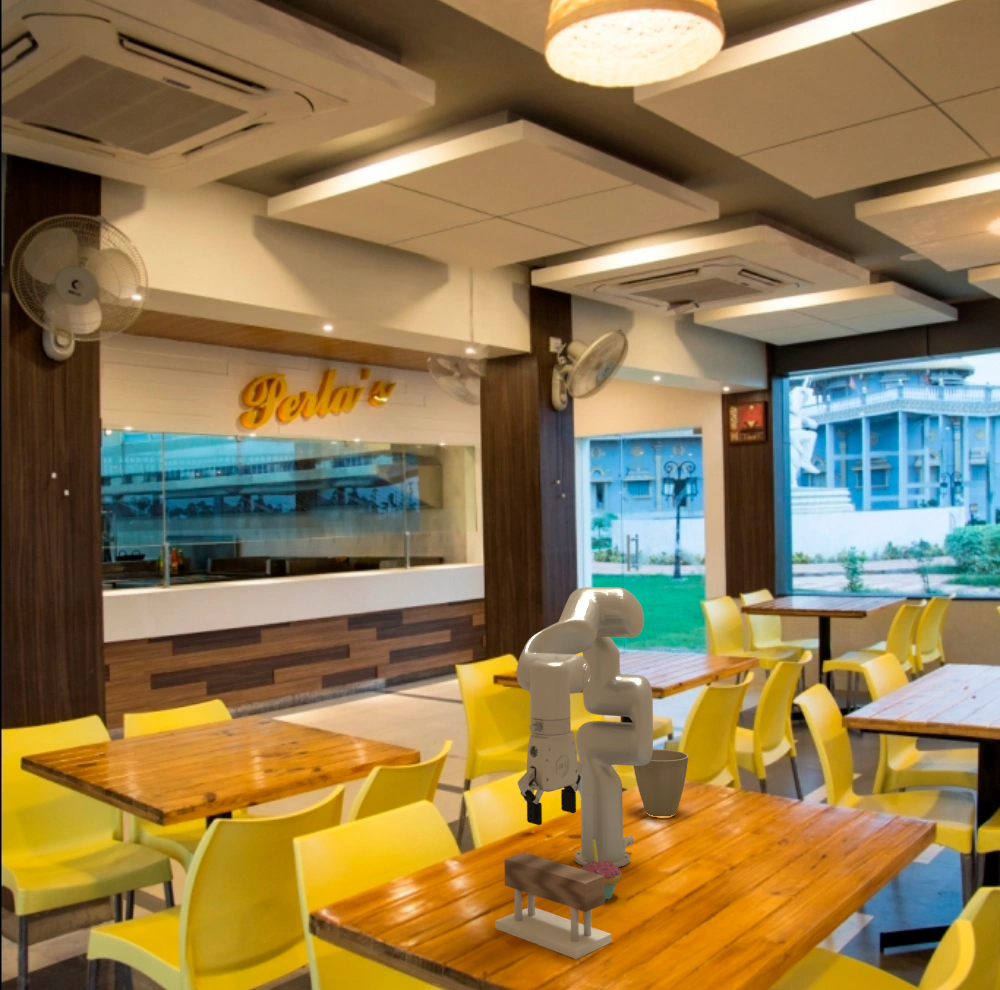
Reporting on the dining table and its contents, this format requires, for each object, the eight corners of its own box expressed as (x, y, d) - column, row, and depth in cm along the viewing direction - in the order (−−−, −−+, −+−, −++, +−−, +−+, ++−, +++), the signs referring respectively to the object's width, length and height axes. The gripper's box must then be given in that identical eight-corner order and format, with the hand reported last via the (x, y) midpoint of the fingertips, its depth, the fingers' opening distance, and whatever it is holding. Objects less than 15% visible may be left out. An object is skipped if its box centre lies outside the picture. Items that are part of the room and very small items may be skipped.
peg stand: (495, 928, 189) (495, 888, 190) (531, 913, 197) (530, 875, 197) (576, 959, 176) (575, 915, 176) (611, 942, 183) (610, 900, 183)
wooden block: (604, 903, 182) (604, 876, 182) (585, 912, 178) (585, 883, 178) (524, 878, 195) (523, 852, 196) (504, 885, 191) (504, 859, 192)
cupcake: (571, 896, 206) (571, 837, 207) (598, 886, 212) (597, 829, 212) (603, 907, 200) (603, 846, 200) (630, 896, 206) (629, 837, 206)
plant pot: (700, 814, 266) (699, 754, 266) (668, 826, 255) (667, 763, 256) (653, 804, 276) (652, 746, 277) (621, 815, 265) (620, 755, 266)
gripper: (534, 736, 179) (535, 832, 179) (595, 721, 191) (596, 811, 191) (504, 730, 184) (505, 824, 184) (565, 716, 197) (566, 803, 196)
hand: (551, 817), depth 187 cm, fingers open, 9 cm apart
